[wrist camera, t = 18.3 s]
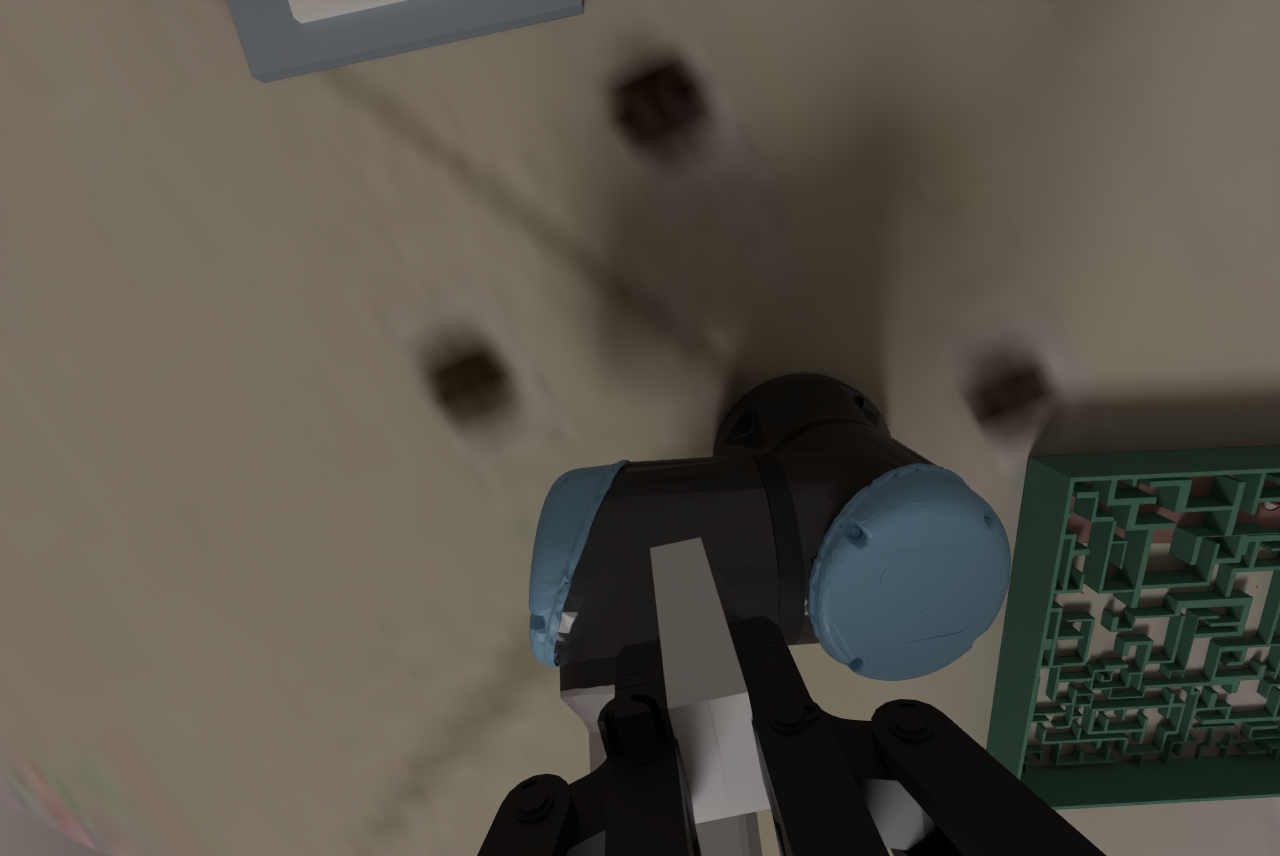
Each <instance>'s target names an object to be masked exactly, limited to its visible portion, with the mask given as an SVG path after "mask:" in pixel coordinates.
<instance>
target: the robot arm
mask: <svg viewBox="0 0 1280 856" xmlns="http://www.w3.org/2000/svg"><path fill="white" fill-rule="evenodd" d="M1010 570H1011V556H1010V547H1009V542H1008V538H1007V535H1006V532H1005V530H1004V527H1003V525H1002V523H1001V521H1000V519H999V518H998V516H997V514H996V513H995V512H994V510H993V509H992V507H991V506H990V505H989V504H988V503H987V502H986V501H985V500H984V499H983V498H982V497H980V496H979V495H978V494H977V493H975V492H974V491H973V490H971V489H970V488H969V487H968V486H967V485H966V484H965V482H964V481H963V479H962V478H961V477H960V476H958V475H957V474H955V473H954V472H952V471H950V470H948V469H944V468H943V467H938V466H937V465H935V464H933V463H932V462H930V461H929V460H927V459H925V458H924V457H922V456H921V455H919V454H917V453H916V452H914V451H913V450H911V449H909V448H908V447H906V446H904V445H903V444H901V443H900V442H898V441H896V440H895V439H893V438H892V437H891V435H890V432H889V430H888V427H887V425H886V423H885V421H884V419H883V417H882V415H881V414H880V412H879V411H878V410H877V408H876V407H875V406H874V405H873V404H872V402H871V401H870V400H869V399H867V398H866V397H865V396H864V395H863V394H862V393H860V392H859V391H857V390H856V389H854V388H852V387H850V386H848V385H847V384H845V383H843V382H841V381H839V380H836V379H834V378H831V377H827V376H823V375H818V374H808V373H803V374H791V375H786V376H782V377H778V378H775V379H772V380H770V381H767V382H765V383H763V384H761V385H759V386H758V387H756V388H755V389H753V390H752V391H750V392H749V393H748V394H746V395H745V396H744V397H743V398H742V399H741V400H739V402H738V403H737V404H736V405H735V406H734V407H733V408H732V409H731V411H730V412H729V414H728V415H727V417H726V418H725V420H724V422H723V423H722V425H721V428H720V430H719V432H718V435H717V438H716V442H715V446H714V453H713V457H702V458H689V459H672V460H655V461H639V462H630V461H628V460H621V461H619V462H617V463H616V464H610V465H604V466H596V467H587V468H579V469H574V470H571V471H568V472H566V473H564V474H563V475H562V476H560V477H559V478H558V479H557V480H556V481H555V483H554V484H553V485H552V487H551V489H550V491H549V493H548V495H547V497H546V499H545V501H544V504H543V507H542V511H541V514H540V518H539V522H538V527H537V531H536V537H535V542H534V549H533V556H532V564H531V575H530V587H529V610H530V611H531V612H532V613H531V617H530V633H529V634H530V643H531V648H532V652H533V655H534V657H535V658H536V659H537V660H538V661H539V662H540V663H542V664H546V665H547V666H549V667H550V668H554V667H559V665H560V696H561V699H562V700H563V701H564V702H565V703H566V704H567V705H568V706H569V707H570V708H571V709H572V710H573V711H574V712H575V713H576V714H577V715H578V716H579V717H580V718H581V719H582V720H583V721H584V723H585V725H586V727H587V729H588V731H589V750H590V774H588V775H586V776H585V777H583V778H581V779H579V780H577V781H575V782H573V783H571V784H569V785H568V784H567V782H566V781H565V780H563V779H562V778H561V777H560V776H557V775H552V774H542V775H536V776H533V777H531V778H529V779H527V780H525V781H523V782H521V783H519V784H518V785H517V786H516V787H515V788H514V789H512V790H511V791H510V792H509V793H508V795H507V796H506V798H505V799H504V801H503V802H502V804H501V806H500V808H499V810H498V812H497V814H496V816H495V819H494V821H493V823H492V825H491V827H490V829H489V831H488V834H487V836H486V838H485V840H484V842H483V844H482V846H481V849H480V851H479V853H478V855H477V856H762V850H761V842H760V834H759V827H758V819H757V812H756V811H761V810H766V809H771V811H772V815H773V820H774V826H775V831H776V836H777V841H778V846H779V851H780V856H890V855H889V853H888V851H887V848H890V849H891V851H892V853H893V855H894V856H1106V855H1105V854H1104V853H1103V852H1102V851H1100V850H1099V849H1098V848H1097V847H1096V846H1095V845H1094V844H1092V843H1091V842H1090V841H1089V840H1088V839H1087V838H1086V837H1084V836H1083V835H1082V834H1081V833H1080V832H1079V831H1078V830H1076V829H1075V828H1074V827H1073V826H1072V825H1071V824H1070V823H1068V822H1067V821H1066V820H1065V819H1064V818H1063V817H1062V816H1060V815H1059V814H1058V813H1057V812H1056V811H1055V810H1054V809H1052V808H1051V807H1050V806H1049V805H1048V804H1047V803H1046V802H1044V801H1043V800H1042V799H1041V798H1040V797H1039V796H1038V795H1036V794H1035V793H1034V792H1033V791H1032V790H1031V789H1030V788H1028V787H1027V786H1026V785H1025V784H1024V783H1023V782H1021V781H1020V780H1019V779H1018V778H1017V777H1016V776H1015V775H1013V774H1012V773H1011V772H1010V771H1009V770H1008V769H1007V768H1005V767H1004V766H1003V765H1002V764H1001V763H1000V762H999V761H997V760H996V759H995V758H994V757H993V756H992V755H991V754H989V753H988V752H987V751H986V750H985V749H984V748H983V747H981V746H980V745H979V744H978V743H977V742H976V741H975V740H973V739H972V738H971V737H970V736H969V735H968V734H967V733H965V732H964V731H963V730H962V729H961V728H960V727H959V726H957V725H956V724H955V723H954V722H953V721H952V720H951V719H949V718H948V717H947V716H946V715H945V714H944V713H943V712H941V711H940V710H938V709H936V708H935V707H933V706H932V705H930V704H927V703H924V702H920V701H917V700H908V699H898V700H894V701H890V702H886V703H885V704H883V705H882V706H880V707H879V708H877V709H876V711H875V713H874V714H873V716H872V718H871V721H862V720H850V719H843V718H839V717H836V716H833V715H830V714H828V713H827V712H825V711H823V710H822V709H821V708H820V707H819V705H818V704H817V703H815V702H813V700H812V699H811V697H810V695H809V693H808V690H807V688H806V686H805V684H804V682H803V679H802V677H801V675H800V673H799V670H798V668H797V666H796V664H795V661H794V659H793V657H792V655H791V653H790V650H789V648H788V646H787V645H800V644H814V643H820V644H821V646H822V647H823V649H824V650H825V651H826V653H827V654H828V655H829V656H831V657H832V658H833V659H835V660H836V661H838V662H840V663H843V664H845V665H847V666H848V667H849V668H850V669H851V670H852V671H853V672H855V673H857V674H859V675H862V676H865V677H868V678H872V679H877V680H884V681H899V680H908V679H913V678H917V677H921V676H924V675H927V674H930V673H932V672H935V671H937V670H939V669H941V668H943V667H945V666H947V665H949V664H950V663H952V662H953V661H955V660H956V659H958V658H959V657H961V656H962V655H963V654H964V653H966V652H967V651H968V650H969V649H970V648H971V647H972V645H973V642H974V641H975V639H976V638H977V637H978V636H980V635H981V634H982V633H983V632H985V631H986V630H988V628H989V627H990V625H991V624H992V622H993V621H994V619H995V617H996V616H997V614H998V612H999V610H1000V608H1001V605H1002V603H1003V600H1004V598H1005V595H1006V592H1007V589H1008V584H1009V579H1010Z"/></svg>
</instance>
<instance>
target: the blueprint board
mask: <svg viewBox="0 0 1280 856" xmlns="http://www.w3.org/2000/svg"><path fill="white" fill-rule="evenodd" d="M227 3H228V6H229V9H230V12H231V15H232V18H233V21H234V24H235V27H236V30H237V33H238V36H239V39H240V42H241V45H242V48H243V51H244V54H245V57H246V60H247V63H248V66H249V69H250V72H251V75H252V77H254V78H256V79H258V80H260V81H262V82H264V83H265V82H270V81H274V80H279V79H284V78H288V77H293V76H297V75H302V74H307V73H311V72H316V71H320V70H325V69H330V68H334V67H339V66H343V65H348V64H353V63H357V62H362V61H366V60H371V59H376V58H380V57H385V56H389V55H394V54H399V53H403V52H408V51H412V50H417V49H422V48H426V47H431V46H435V45H440V44H445V43H449V42H454V41H458V40H463V39H468V38H472V37H477V36H481V35H486V34H491V33H495V32H500V31H504V30H509V29H514V28H518V27H523V26H527V25H532V24H536V23H541V22H546V21H550V20H555V19H559V18H564V17H569V16H573V15H578V14H582V13H583V6H582V1H581V0H227Z"/></svg>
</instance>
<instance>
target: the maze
mask: <svg viewBox="0 0 1280 856" xmlns="http://www.w3.org/2000/svg"><path fill="white" fill-rule="evenodd" d="M1279 501H1280V445H1279V446H1257V447H1235V448H1213V449H1191V450H1169V451H1147V452H1125V453H1103V454H1081V455H1059V456H1037V457H1029V460H1028V467H1027V473H1026V479H1025V486H1024V492H1023V498H1022V505H1021V511H1020V517H1019V524H1018V530H1017V536H1016V543H1015V550H1014V557H1013V564H1012V571H1011V578H1010V585H1009V592H1008V599H1007V606H1006V613H1005V620H1004V627H1003V634H1002V642H1001V649H1000V656H999V663H998V670H997V677H996V684H995V691H994V698H993V705H992V712H991V719H990V726H989V733H988V740H987V747H986V751H987V752H988V753H989V754H991V755H992V756H993V757H994V758H995V759H996V760H997V761H999V762H1000V763H1001V764H1002V765H1003V766H1004V767H1005V768H1007V769H1008V770H1009V771H1010V772H1011V773H1012V774H1013V775H1015V776H1016V777H1017V778H1018V779H1019V780H1020V781H1021V782H1023V783H1024V784H1025V785H1026V786H1027V787H1028V788H1030V789H1031V790H1032V791H1033V792H1034V793H1035V794H1036V795H1038V796H1039V797H1040V798H1041V799H1042V800H1043V801H1044V802H1046V803H1047V804H1048V805H1049V806H1050V807H1051V808H1052V809H1054V810H1062V809H1079V808H1095V807H1112V806H1129V805H1146V804H1163V803H1180V802H1197V801H1214V800H1231V799H1248V798H1265V797H1280V709H1279V706H1280V689H1279V688H1277V687H1276V686H1280V677H1277V674H1278V671H1279V668H1280V637H1273V634H1274V632H1276V633H1278V634H1279V635H1280V502H1279ZM1265 502H1270V503H1271V504H1273V505H1276V506H1279V507H1278V508H1276V509H1274V510H1271V511H1268V510H1266V509H1265V507H1264V503H1265ZM1081 543H1088V546H1087V547H1086V546H1084V545H1082V544H1081ZM1151 543H1171V547H1170V551H1169V554H1171V555H1173V556H1175V557H1176V558H1178V559H1180V560H1182V561H1184V562H1186V563H1187V564H1186V568H1185V570H1181V571H1161V572H1145V569H1146V565H1147V561H1148V556H1149V552H1150V548H1151ZM1260 546H1261V547H1263V548H1266V549H1268V550H1270V551H1279V553H1278V557H1277V559H1270V560H1256V558H1257V555H1258V551H1259V548H1260ZM1077 555H1086V557H1085V563H1084V568H1083V573H1082V572H1080V571H1079V570H1078V569H1076V568H1075V567H1073V566H1072V565H1071V564H1072V559H1073V556H1077ZM1108 561H1109V562H1110V563H1112V564H1113V565H1115V566H1117V567H1118V572H1117V577H1112V578H1105V575H1106V570H1107V565H1108ZM1215 564H1219V569H1218V573H1217V577H1216V581H1215V585H1214V589H1213V591H1209V592H1189V593H1170V594H1166V596H1165V600H1164V605H1163V607H1148V608H1137V604H1138V600H1139V596H1140V591H1141V589H1154V588H1173V587H1193V586H1209V584H1210V580H1211V576H1212V572H1213V568H1214V565H1215ZM1273 570H1274V572H1273V576H1272V579H1271V583H1270V587H1269V590H1268V594H1267V598H1266V601H1265V605H1264V609H1263V613H1262V616H1261V620H1260V624H1259V627H1258V631H1257V635H1256V638H1243V639H1224V640H1210V643H1209V647H1208V651H1207V655H1206V659H1205V663H1204V667H1203V671H1202V675H1201V676H1184V674H1185V670H1186V666H1187V662H1188V658H1189V655H1190V651H1191V647H1192V643H1193V640H1194V638H1205V637H1224V636H1242V635H1243V631H1244V628H1245V624H1246V621H1247V617H1248V614H1249V611H1250V607H1251V604H1252V600H1253V597H1252V596H1250V595H1248V594H1246V593H1244V592H1242V591H1241V590H1232V587H1233V583H1234V580H1235V576H1236V573H1237V572H1253V571H1273ZM1083 583H1084V584H1086V585H1087V586H1089V587H1090V588H1091V589H1093V590H1094V591H1096V592H1097V593H1098V594H1099V593H1113V596H1114V597H1116V598H1117V599H1118V600H1120V601H1121V602H1123V603H1124V604H1126V605H1127V606H1128V607H1130V608H1129V609H1124V610H1123V615H1122V620H1119V617H1118V616H1117V615H1116V614H1114V613H1113V612H1111V611H1110V610H1103V613H1102V619H1101V625H1102V626H1103V627H1105V628H1106V629H1107V630H1109V631H1110V632H1120V631H1133V627H1134V623H1135V619H1136V618H1152V617H1170V619H1169V624H1168V628H1167V633H1166V637H1165V641H1164V646H1163V650H1162V654H1150V653H1151V649H1152V645H1153V640H1152V639H1150V638H1149V637H1148V636H1146V635H1145V634H1135V635H1116V640H1115V645H1114V650H1116V651H1117V652H1118V653H1119V654H1121V655H1122V656H1127V655H1128V652H1129V648H1130V646H1133V645H1137V649H1136V654H1135V659H1134V664H1133V666H1128V665H1129V664H1127V663H1126V662H1125V661H1124V660H1122V659H1121V658H1108V659H1098V663H1086V661H1087V656H1088V651H1089V646H1090V641H1091V637H1092V632H1093V627H1094V622H1095V618H1094V617H1092V616H1091V615H1090V614H1088V613H1087V612H1074V613H1062V612H1063V607H1062V606H1060V605H1059V604H1058V603H1057V602H1055V601H1054V600H1053V598H1054V594H1060V593H1079V592H1082V588H1083ZM1257 587H1258V586H1256V588H1257ZM1082 594H1083V592H1082ZM1222 606H1229V608H1228V612H1227V614H1224V615H1218V614H1216V613H1214V612H1213V611H1211V610H1209V609H1208V608H1203V607H1222ZM1183 608H1200V609H1186V614H1185V615H1184V614H1182V613H1181V609H1183ZM1061 617H1062V618H1063V619H1064V620H1065V621H1066V622H1080V621H1082V623H1081V629H1080V632H1079V631H1078V630H1076V629H1075V628H1074V627H1073V626H1072V625H1071V626H1060V622H1061ZM1199 620H1200V621H1202V622H1204V623H1205V624H1207V625H1200V626H1197V624H1198V621H1199ZM1068 639H1079V640H1078V645H1077V651H1076V656H1060V657H1054V654H1055V649H1056V644H1057V640H1068ZM1266 646H1271V648H1270V651H1269V655H1268V658H1267V662H1266V664H1264V663H1262V662H1261V661H1259V660H1258V659H1250V663H1249V666H1248V668H1247V669H1229V670H1217V667H1218V664H1219V661H1220V662H1221V663H1223V664H1224V665H1226V666H1232V665H1243V663H1244V659H1245V656H1246V652H1247V649H1248V647H1266ZM1226 651H1230V655H1221V653H1222V652H1226ZM1176 652H1177V653H1176ZM1175 656H1176V657H1175ZM1174 660H1175V661H1174ZM1159 663H1161V664H1160V668H1159V672H1161V673H1162V674H1163V675H1165V676H1166V677H1164V678H1146V679H1142V677H1143V673H1144V669H1145V665H1146V664H1159ZM1081 665H1086V668H1085V671H1081V672H1063V673H1060V670H1061V667H1063V666H1081ZM1041 668H1050V672H1049V678H1048V684H1047V690H1046V695H1047V696H1048V697H1049V698H1050V699H1051V700H1052V701H1056V702H1057V703H1058V704H1059V705H1060V706H1063V705H1066V709H1065V711H1064V710H1063V709H1062V708H1061V707H1045V708H1035V705H1036V700H1037V694H1038V689H1039V683H1040V677H1039V675H1040V669H1041ZM1114 669H1121V671H1120V676H1119V680H1112V676H1113V672H1114ZM1173 671H1174V672H1175V673H1177V674H1178V675H1179V676H1181V677H1170V676H1171V672H1173ZM1101 672H1103V673H1101ZM1264 673H1266V674H1267V675H1269V676H1271V677H1269V678H1263V676H1264ZM1094 677H1095V678H1097V679H1098V680H1099V681H1094ZM1258 679H1260V682H1259V686H1258V689H1257V693H1259V694H1260V695H1262V696H1263V697H1265V698H1267V697H1268V699H1267V702H1266V706H1265V709H1264V710H1263V711H1246V712H1230V711H1231V708H1232V706H1231V705H1229V704H1228V703H1227V702H1225V701H1224V700H1216V699H1217V695H1218V693H1217V692H1216V691H1214V690H1213V689H1212V688H1210V687H1203V689H1202V693H1201V697H1200V701H1198V698H1199V694H1200V691H1199V690H1198V689H1196V688H1195V686H1211V685H1222V686H1221V688H1222V689H1224V690H1225V691H1227V692H1228V693H1229V694H1232V693H1236V692H1237V691H1238V687H1239V684H1240V681H1241V680H1258ZM1079 681H1083V685H1084V686H1086V687H1087V688H1075V687H1074V686H1073V685H1072V684H1070V685H1068V690H1067V696H1066V697H1059V698H1056V695H1057V690H1058V685H1059V683H1061V682H1079ZM1129 684H1130V685H1131V686H1133V687H1134V688H1135V690H1118V691H1112V688H1122V687H1129ZM1181 686H1182V689H1183V690H1184V691H1186V692H1187V697H1186V701H1185V702H1184V701H1183V700H1181V699H1180V698H1179V697H1178V696H1175V693H1174V692H1173V691H1172V690H1170V689H1169V688H1168V687H1181ZM1146 688H1162V692H1161V696H1160V698H1144V699H1126V700H1108V701H1093V697H1094V693H1093V692H1092V691H1091V690H1102V693H1103V694H1104V695H1105V696H1106V697H1107V698H1108V699H1121V698H1140V697H1144V694H1145V690H1146ZM1269 691H1270V692H1269ZM1268 694H1269V695H1268ZM1080 695H1085V698H1080V699H1076V697H1077V696H1080ZM1075 704H1076V705H1077V706H1078V707H1084V711H1083V715H1082V714H1081V713H1080V712H1079V711H1078V710H1074V706H1075ZM1147 708H1158V713H1160V714H1161V715H1162V716H1163V717H1164V718H1165V719H1169V720H1168V724H1157V728H1156V733H1155V737H1154V741H1153V744H1142V743H1143V739H1144V735H1145V731H1146V727H1147V723H1148V718H1147V717H1146V716H1145V715H1144V714H1142V713H1141V712H1137V716H1136V721H1135V722H1121V723H1109V718H1108V717H1107V716H1106V715H1105V714H1104V713H1103V712H1099V714H1098V719H1097V724H1094V720H1095V715H1096V711H1111V710H1114V714H1115V715H1116V716H1117V717H1118V718H1120V719H1121V720H1125V716H1126V712H1127V710H1129V709H1147ZM1278 709H1279V710H1278ZM1200 710H1218V711H1217V713H1199V714H1195V717H1194V718H1195V719H1196V720H1197V721H1198V722H1200V723H1201V725H1192V727H1193V728H1195V729H1209V730H1208V734H1207V738H1206V742H1205V743H1202V744H1199V745H1198V749H1197V753H1196V756H1195V758H1180V759H1169V758H1170V754H1171V750H1172V752H1173V753H1174V754H1176V755H1177V756H1178V757H1180V755H1181V752H1182V748H1183V744H1184V743H1196V742H1197V740H1196V739H1194V738H1193V737H1192V736H1191V735H1188V734H1189V730H1190V727H1191V723H1192V719H1193V716H1194V712H1195V711H1200ZM1051 714H1064V720H1062V721H1051V724H1052V725H1053V727H1054V728H1055V729H1061V728H1070V726H1071V731H1070V733H1055V734H1046V732H1047V729H1046V728H1045V727H1044V726H1043V725H1042V724H1041V723H1040V722H1050V720H1049V719H1048V718H1047V717H1046V716H1045V715H1051ZM1075 718H1082V722H1081V727H1080V726H1079V725H1078V723H1077V722H1076V721H1075V720H1073V721H1072V719H1075ZM1272 720H1276V723H1274V722H1273V721H1272ZM1071 721H1072V725H1071ZM1037 722H1038V723H1037ZM1236 722H1243V724H1242V728H1241V731H1240V735H1242V736H1243V737H1244V738H1246V739H1247V740H1256V743H1239V744H1237V745H1236V747H1238V748H1239V749H1240V750H1241V751H1243V752H1244V753H1245V754H1246V755H1232V756H1227V754H1228V751H1229V747H1230V744H1231V742H1240V738H1238V737H1237V736H1236V735H1233V736H1232V735H1230V734H1229V733H1226V735H1225V739H1224V742H1219V743H1217V744H1216V745H1217V746H1218V747H1219V748H1222V750H1221V754H1220V756H1214V757H1201V756H1202V752H1203V749H1204V747H1210V744H1211V741H1212V737H1213V734H1214V730H1215V728H1227V727H1236V725H1235V724H1234V723H1236ZM1031 723H1037V729H1036V735H1035V738H1036V739H1037V740H1038V741H1039V742H1040V743H1041V745H1042V744H1052V747H1051V753H1050V758H1049V759H1050V760H1051V761H1052V762H1053V764H1054V765H1055V766H1043V767H1029V766H1030V761H1029V760H1028V758H1027V757H1026V756H1025V753H1035V756H1036V758H1037V759H1038V760H1039V761H1042V758H1043V753H1044V750H1043V749H1042V748H1041V747H1040V746H1039V745H1038V746H1027V740H1028V735H1029V729H1030V724H1031ZM1081 729H1082V730H1083V731H1084V732H1081ZM1258 729H1274V730H1265V731H1253V730H1258ZM1125 732H1133V735H1132V738H1133V739H1134V740H1135V741H1137V742H1138V743H1139V744H1142V745H1128V740H1129V738H1128V737H1127V736H1126V735H1125V734H1124V733H1125ZM1167 734H1177V736H1167ZM1112 740H1116V742H1115V750H1116V751H1117V752H1118V753H1119V754H1120V755H1121V756H1128V755H1134V757H1133V761H1129V762H1117V759H1116V758H1115V757H1114V756H1113V755H1112V754H1111V752H1112V747H1111V746H1110V745H1109V744H1108V743H1107V742H1106V741H1112ZM1077 742H1090V743H1091V744H1092V745H1093V746H1094V747H1095V748H1096V749H1097V748H1099V753H1090V754H1085V752H1084V751H1083V749H1082V748H1081V747H1080V746H1079V745H1074V747H1073V752H1072V755H1060V753H1061V748H1062V743H1077ZM1173 744H1174V745H1173ZM1172 746H1173V749H1172ZM1149 753H1161V756H1160V760H1146V761H1143V758H1144V754H1149Z"/></svg>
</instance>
